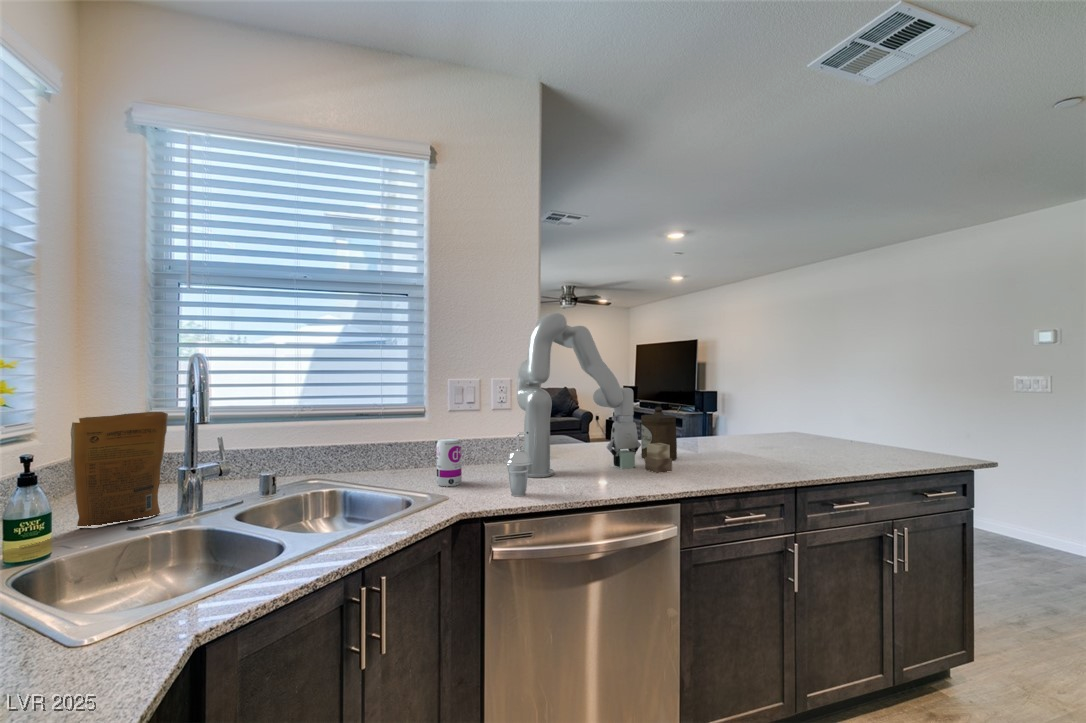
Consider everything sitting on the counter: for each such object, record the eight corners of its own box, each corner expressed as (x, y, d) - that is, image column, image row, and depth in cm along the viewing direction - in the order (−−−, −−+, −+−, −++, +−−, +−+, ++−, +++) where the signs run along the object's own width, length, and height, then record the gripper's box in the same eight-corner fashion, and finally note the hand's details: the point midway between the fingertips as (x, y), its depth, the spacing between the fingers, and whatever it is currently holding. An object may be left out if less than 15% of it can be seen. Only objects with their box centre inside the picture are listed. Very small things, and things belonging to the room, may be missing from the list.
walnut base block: (656, 473, 180) (656, 460, 180) (645, 470, 187) (645, 456, 187) (671, 471, 183) (671, 458, 183) (659, 468, 190) (659, 455, 190)
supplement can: (466, 483, 165) (466, 439, 165) (446, 488, 159) (446, 442, 159) (451, 480, 170) (451, 437, 171) (431, 484, 164) (431, 439, 165)
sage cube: (622, 469, 188) (621, 453, 188) (613, 466, 193) (613, 451, 193) (634, 467, 190) (634, 452, 190) (626, 464, 196) (626, 450, 196)
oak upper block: (657, 459, 181) (656, 446, 181) (646, 457, 187) (646, 443, 187) (669, 458, 184) (669, 444, 184) (659, 455, 189) (659, 442, 189)
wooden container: (640, 454, 218) (640, 405, 218) (674, 455, 216) (674, 405, 216) (642, 461, 204) (642, 408, 204) (679, 461, 202) (678, 408, 202)
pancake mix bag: (170, 516, 130) (170, 411, 130) (70, 535, 116) (70, 417, 116) (165, 511, 134) (165, 410, 135) (68, 528, 120) (69, 415, 121)
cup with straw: (530, 490, 156) (529, 427, 156) (534, 498, 147) (534, 431, 147) (503, 491, 154) (503, 428, 154) (506, 499, 145) (506, 432, 145)
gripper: (610, 421, 185) (610, 469, 185) (647, 419, 192) (647, 465, 192) (600, 419, 192) (600, 465, 191) (636, 417, 199) (636, 461, 199)
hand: (624, 464), depth 192 cm, fingers closed on sage cube, 6 cm apart
